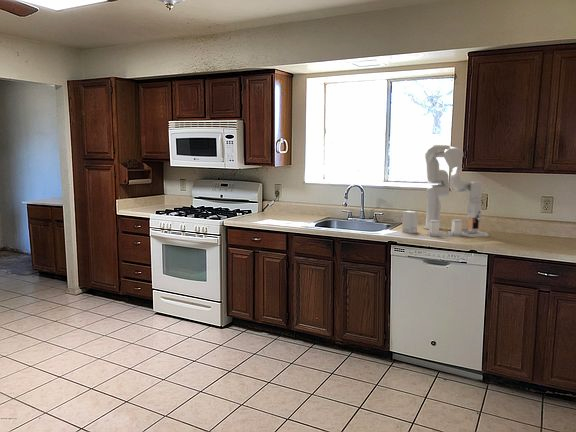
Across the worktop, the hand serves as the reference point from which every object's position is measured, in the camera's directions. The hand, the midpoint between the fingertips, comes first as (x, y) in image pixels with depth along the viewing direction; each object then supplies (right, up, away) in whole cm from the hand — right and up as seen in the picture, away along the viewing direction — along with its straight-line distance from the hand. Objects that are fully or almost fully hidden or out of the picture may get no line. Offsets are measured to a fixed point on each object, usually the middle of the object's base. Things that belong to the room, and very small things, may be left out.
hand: (473, 227), depth 307 cm
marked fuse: (0, -2, 0) cm, 2 cm away
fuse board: (-20, -6, -2) cm, 21 cm away
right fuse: (-12, -5, -1) cm, 13 cm away
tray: (0, -6, +1) cm, 6 cm away
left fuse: (-28, -5, -4) cm, 28 cm away
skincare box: (-40, -5, +9) cm, 41 cm away
